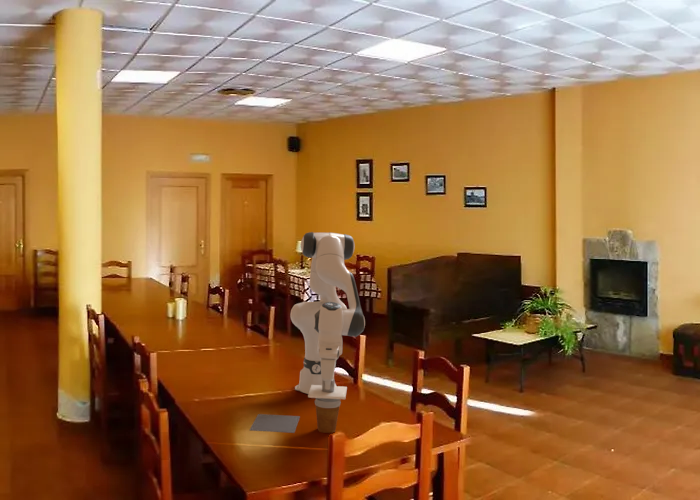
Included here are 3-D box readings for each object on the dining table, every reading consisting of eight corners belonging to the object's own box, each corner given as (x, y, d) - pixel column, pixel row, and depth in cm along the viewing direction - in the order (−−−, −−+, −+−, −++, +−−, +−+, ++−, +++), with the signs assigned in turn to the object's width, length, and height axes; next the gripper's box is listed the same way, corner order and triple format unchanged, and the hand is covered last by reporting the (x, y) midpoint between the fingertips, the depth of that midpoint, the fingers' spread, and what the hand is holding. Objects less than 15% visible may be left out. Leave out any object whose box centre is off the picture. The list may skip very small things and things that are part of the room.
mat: (258, 415, 254) (258, 414, 254) (300, 417, 253) (300, 416, 253) (249, 431, 236) (249, 430, 236) (294, 434, 235) (294, 432, 235)
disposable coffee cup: (339, 427, 245) (340, 395, 244) (339, 436, 235) (341, 403, 234) (313, 426, 244) (314, 394, 243) (312, 435, 235) (314, 402, 234)
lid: (311, 386, 245) (312, 374, 245) (346, 388, 245) (347, 376, 245) (308, 397, 233) (308, 383, 232) (345, 399, 232) (345, 385, 232)
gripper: (323, 341, 248) (321, 378, 249) (318, 354, 228) (317, 394, 229) (340, 342, 248) (338, 379, 249) (337, 355, 227) (335, 395, 228)
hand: (328, 386), depth 239 cm, fingers closed on lid, 4 cm apart
